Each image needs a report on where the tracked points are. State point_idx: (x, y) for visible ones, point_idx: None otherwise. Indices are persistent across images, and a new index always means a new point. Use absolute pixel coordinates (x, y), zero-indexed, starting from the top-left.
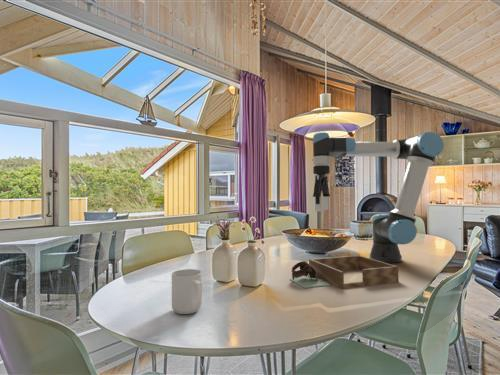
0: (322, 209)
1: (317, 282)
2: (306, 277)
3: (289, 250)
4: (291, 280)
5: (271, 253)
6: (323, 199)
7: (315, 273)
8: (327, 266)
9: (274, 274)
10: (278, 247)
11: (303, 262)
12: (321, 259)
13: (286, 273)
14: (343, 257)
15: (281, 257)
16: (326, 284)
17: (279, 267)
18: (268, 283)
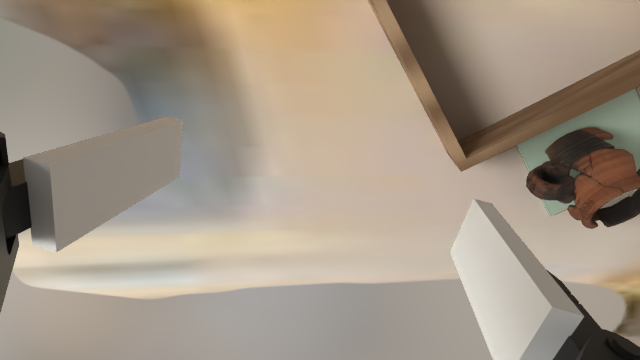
0: (177, 177)
1: (604, 127)
2: (530, 164)
3: None
4: (559, 210)
5: (161, 287)
6: (93, 213)
7: (598, 139)
8: (616, 95)
9: None
10: (44, 271)
11: (612, 197)
12: (445, 119)
13: (459, 228)
14: (391, 12)
15: (216, 253)
16: (634, 95)
17: (375, 252)
18: (591, 272)
